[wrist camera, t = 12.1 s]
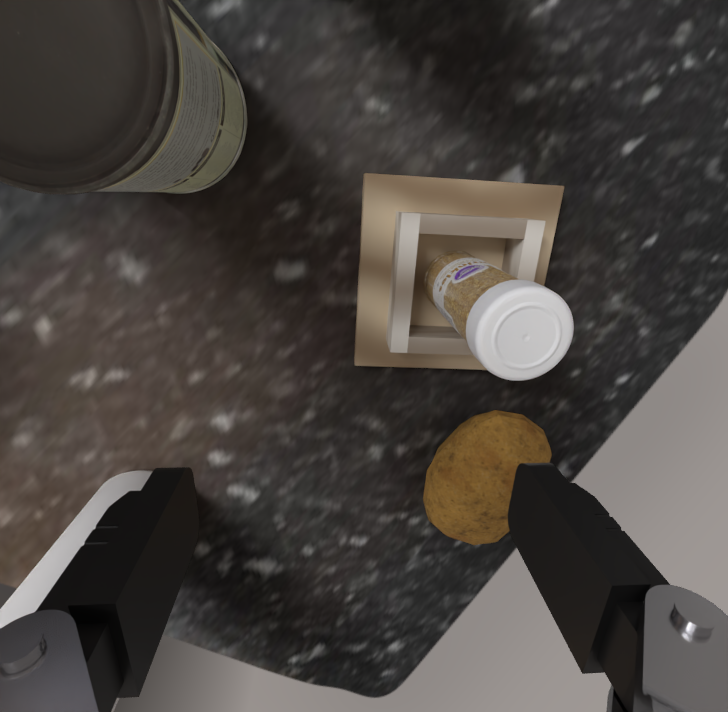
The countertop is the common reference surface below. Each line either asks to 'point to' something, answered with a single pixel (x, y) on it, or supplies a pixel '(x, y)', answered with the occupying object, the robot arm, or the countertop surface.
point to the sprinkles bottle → (500, 315)
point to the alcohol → (68, 547)
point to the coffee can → (114, 98)
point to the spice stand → (428, 240)
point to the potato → (480, 474)
